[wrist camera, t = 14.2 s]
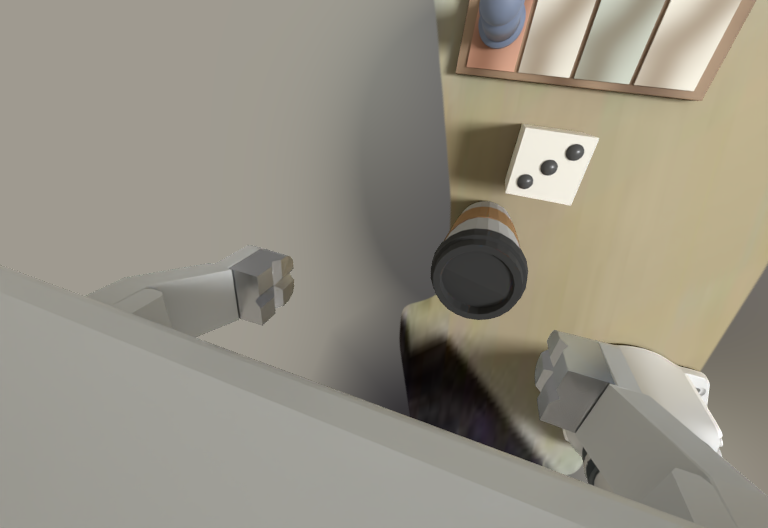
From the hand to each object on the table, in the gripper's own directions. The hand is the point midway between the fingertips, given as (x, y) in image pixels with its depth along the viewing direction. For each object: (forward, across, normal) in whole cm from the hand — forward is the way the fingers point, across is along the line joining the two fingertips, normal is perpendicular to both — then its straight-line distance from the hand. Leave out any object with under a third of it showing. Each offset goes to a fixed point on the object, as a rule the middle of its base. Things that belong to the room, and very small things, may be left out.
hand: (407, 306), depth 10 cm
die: (+31, +7, +1) cm, 32 cm away
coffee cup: (+31, +3, -8) cm, 32 cm away
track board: (+31, +7, +12) cm, 34 cm away
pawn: (+30, -1, +12) cm, 32 cm away
